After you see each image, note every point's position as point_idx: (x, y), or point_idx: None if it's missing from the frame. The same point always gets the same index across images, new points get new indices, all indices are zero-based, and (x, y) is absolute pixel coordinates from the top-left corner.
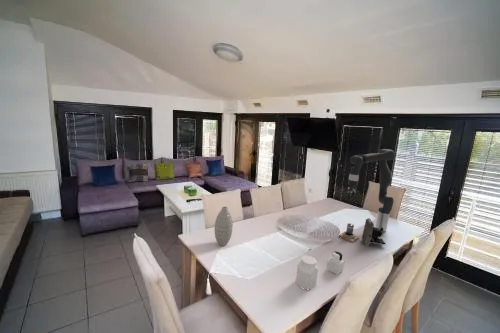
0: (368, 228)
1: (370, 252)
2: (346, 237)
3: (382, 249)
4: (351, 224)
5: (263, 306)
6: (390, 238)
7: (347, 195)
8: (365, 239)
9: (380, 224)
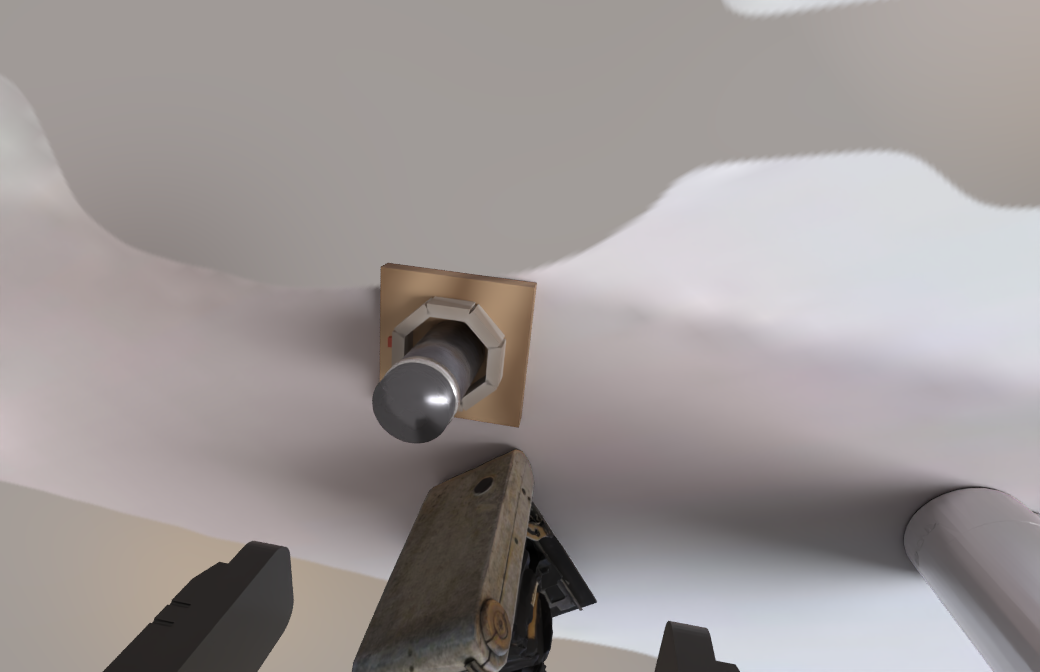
0: (376, 614)
1: (360, 530)
2: (390, 347)
3: None
4: (430, 412)
5: None
6: (775, 617)
7: (166, 637)
8: (421, 512)
9: (951, 590)
